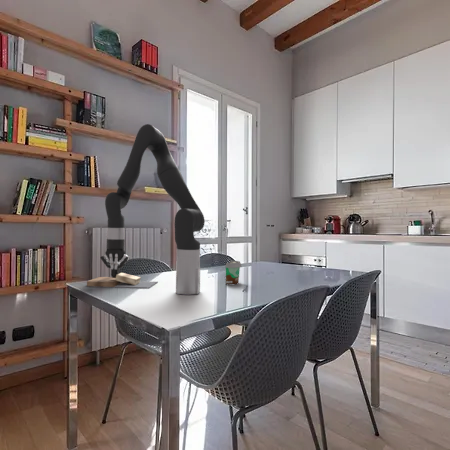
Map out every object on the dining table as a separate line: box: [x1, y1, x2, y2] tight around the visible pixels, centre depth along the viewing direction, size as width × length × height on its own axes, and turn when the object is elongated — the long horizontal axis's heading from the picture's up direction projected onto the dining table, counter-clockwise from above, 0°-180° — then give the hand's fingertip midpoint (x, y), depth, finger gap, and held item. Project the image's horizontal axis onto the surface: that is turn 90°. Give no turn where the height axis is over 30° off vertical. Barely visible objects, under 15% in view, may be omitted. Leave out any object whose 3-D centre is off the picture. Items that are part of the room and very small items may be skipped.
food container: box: [225, 260, 242, 285], centre depth 153 cm, size 12×6×10 cm, turn 168°
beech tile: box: [115, 272, 141, 285], centre depth 144 cm, size 9×6×2 cm, turn 87°
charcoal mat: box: [114, 280, 159, 289], centre depth 144 cm, size 14×14×1 cm
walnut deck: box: [86, 276, 123, 288], centre depth 144 cm, size 12×12×2 cm
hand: (114, 277), depth 144 cm, fingers closed
